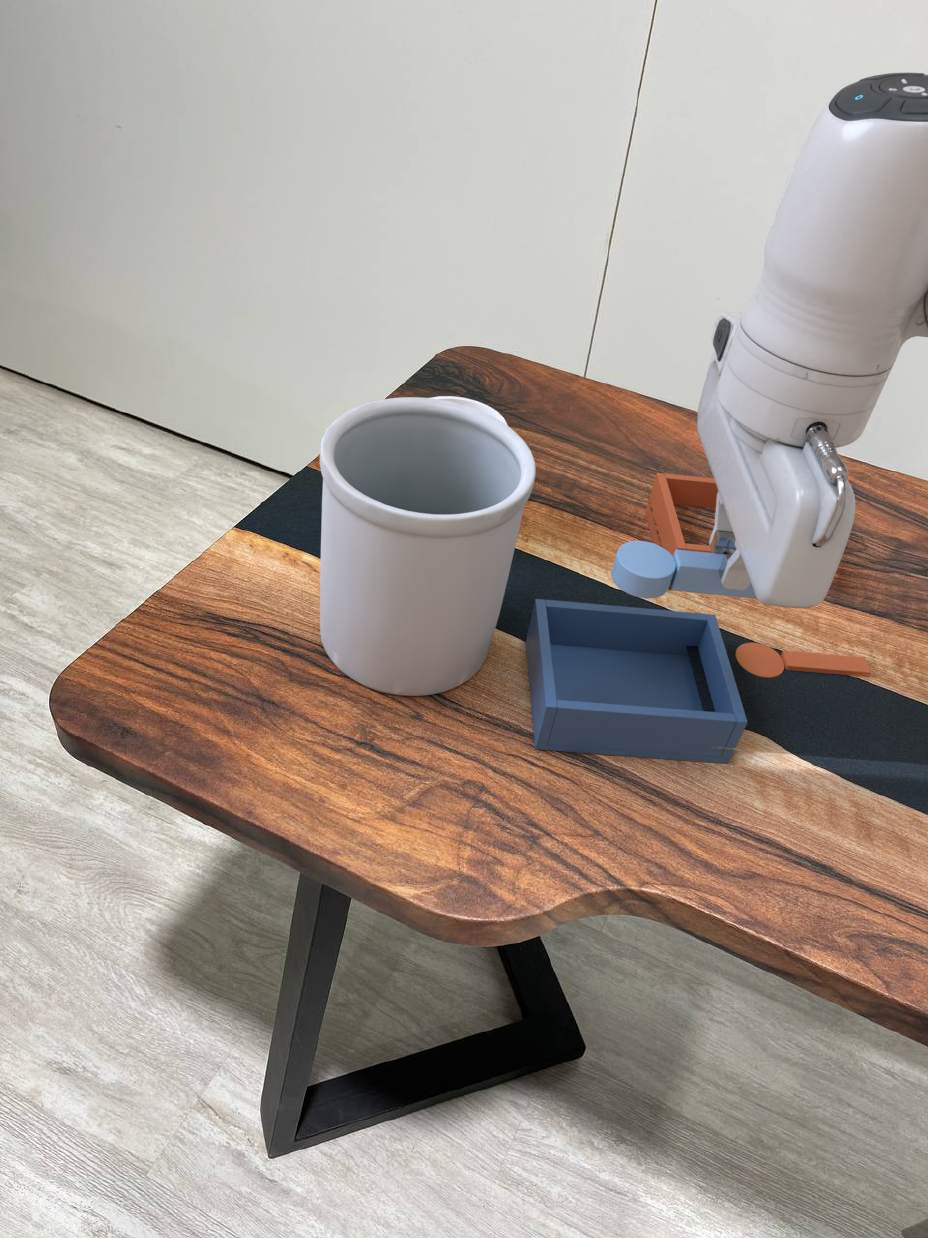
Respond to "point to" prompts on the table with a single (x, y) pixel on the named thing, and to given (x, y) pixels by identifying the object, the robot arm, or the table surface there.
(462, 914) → the table surface
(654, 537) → the bin terracotta
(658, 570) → the spoon blue
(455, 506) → the utensil holder
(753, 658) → the spoon terracotta
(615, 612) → the bin blue
